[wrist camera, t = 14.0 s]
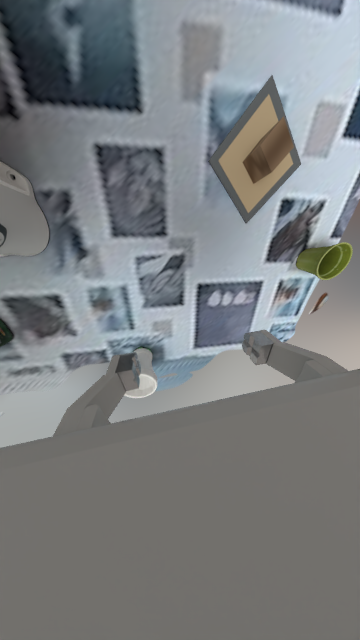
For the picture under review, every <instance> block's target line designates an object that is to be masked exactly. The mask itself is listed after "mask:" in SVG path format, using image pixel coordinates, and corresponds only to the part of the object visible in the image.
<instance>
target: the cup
mask: <svg viewBox="0 0 360 640" xmlns="http://www.w3.org/2000/svg"><path fill="white" fill-rule="evenodd" d="M134 352H136V353H137V355H138V358H137V360H139V361H140V366H141V374H140V375H139V378H140V384H139V389H134V390H130V391H126V393H125V394H124V395H125V396H127V397H131V398H142V397H146V396H148V395H151V394H152V393H153V392H154V391H155V390H156V388H157V376H156V374H155V373H154V371H153V368H152V353H151V351H150V349H145V348H142V347H139V348H138V349H136V350H135V351H134Z"/></svg>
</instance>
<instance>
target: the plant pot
mask: <svg viewBox="0 0 360 640" xmlns="http://www.w3.org/2000/svg"><path fill="white" fill-rule="evenodd" d="M351 257H352V246H351V245H350V244H349V243H345V242H344V243H339V244H336V245H332V246H328V247H320V248H310V249H306V250H304V251H303V252H302V253H301V254H300V255H299V256H298V258H297V263H296V266H297V268H298V269H301V270H304V271H307V272H309V273H312V274H315V275H316V276H317V277H318V278H319V279H322V280H328V279H332V278H334V277H335V276H337V275H338V274H339V273H341V272H342V271H343V270H344V269H345V267H346V266H347V265H348V263H349V261H350V259H351Z"/></svg>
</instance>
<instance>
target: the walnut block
mask: <svg viewBox="0 0 360 640" xmlns="http://www.w3.org/2000/svg"><path fill="white" fill-rule="evenodd" d="M293 148H294V145H293V142H292V139H291V136H290V133H289V130H288V127H287V124H286V121H285V118H284V116H283V117H282V118H281V119H280V120H279V121H278V122H277V123H276V124H275V125H274V126H273V127H272V128H271V129H270V130H269V131H268V132H267V133H266V134H265V135H264V136H263V137H262V138H261V140H260V141H259V142H258V143H257V145H256V146H255V147H254V148H253V150H252V151H251V152H250V153H249V155H248V156H247V157H246V158H245V160H244V161H243V164H244V166H245V168H246V170H247V172H248V174H249V176H250V178H251V180H252V182H253V184H254V183H256V182H257V181H259V180H261V179H262V178H264V177H265V176H267V175H269V174H270V173H272V172H273V171H274V169H275V168H276V167H277V166H278V165H279V164H280V163H281V161H282V160H283V159H284V158H285V157H286V156H287V155H288V153H289V152H290V151H291V150H292V149H293Z"/></svg>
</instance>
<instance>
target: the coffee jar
mask: <svg viewBox="0 0 360 640" xmlns="http://www.w3.org/2000/svg"><path fill="white" fill-rule="evenodd" d="M11 340H12V334H11V332H10V331H9V329H8V328H7V327H6V325H5V324H4V323H3V322H2V321H1V320H0V347H1V346H3V345H5V344H6V343H8V342H9V341H11Z"/></svg>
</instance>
